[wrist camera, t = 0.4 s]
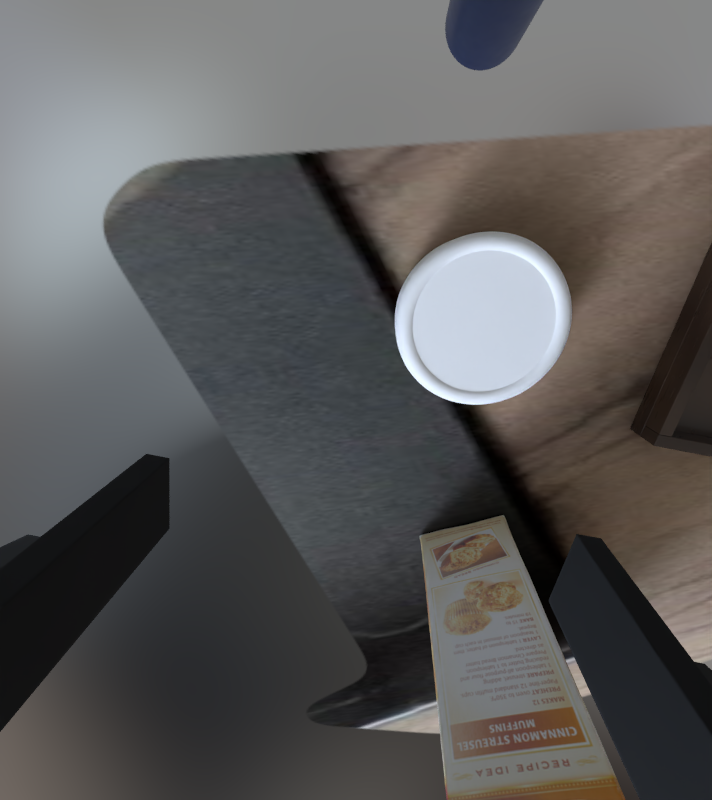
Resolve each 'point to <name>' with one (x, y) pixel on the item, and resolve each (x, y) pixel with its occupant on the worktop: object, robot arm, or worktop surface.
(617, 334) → the worktop surface
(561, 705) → the coffeecake box
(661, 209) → the worktop surface
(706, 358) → the dark brown wooden tray
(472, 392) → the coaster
